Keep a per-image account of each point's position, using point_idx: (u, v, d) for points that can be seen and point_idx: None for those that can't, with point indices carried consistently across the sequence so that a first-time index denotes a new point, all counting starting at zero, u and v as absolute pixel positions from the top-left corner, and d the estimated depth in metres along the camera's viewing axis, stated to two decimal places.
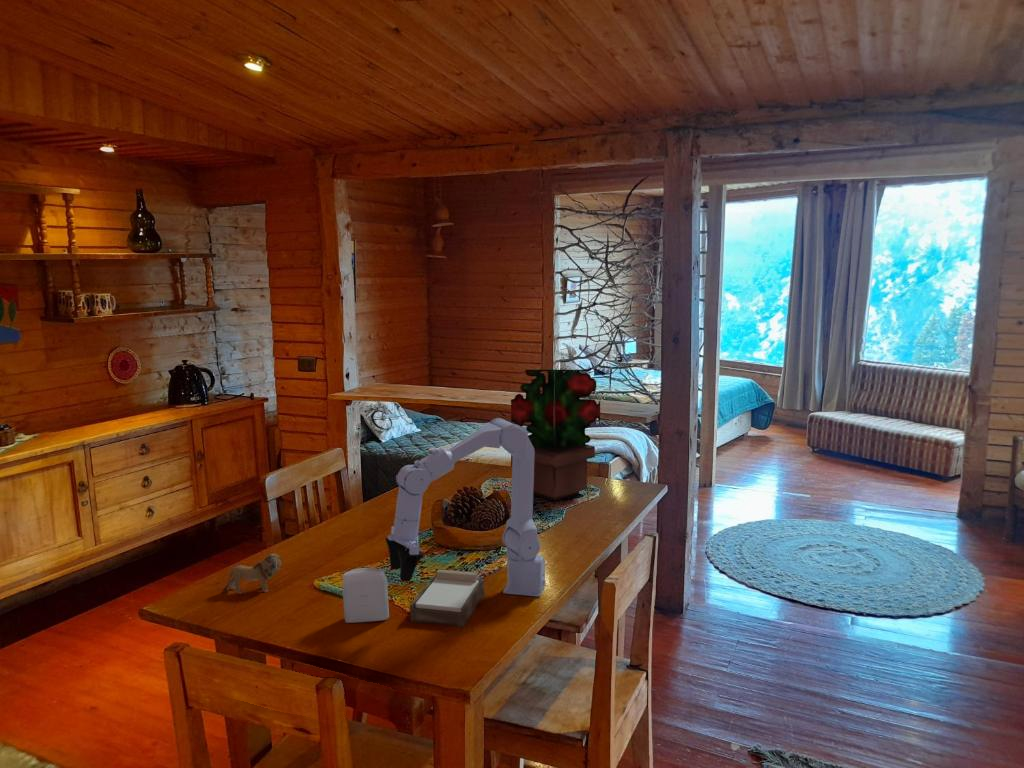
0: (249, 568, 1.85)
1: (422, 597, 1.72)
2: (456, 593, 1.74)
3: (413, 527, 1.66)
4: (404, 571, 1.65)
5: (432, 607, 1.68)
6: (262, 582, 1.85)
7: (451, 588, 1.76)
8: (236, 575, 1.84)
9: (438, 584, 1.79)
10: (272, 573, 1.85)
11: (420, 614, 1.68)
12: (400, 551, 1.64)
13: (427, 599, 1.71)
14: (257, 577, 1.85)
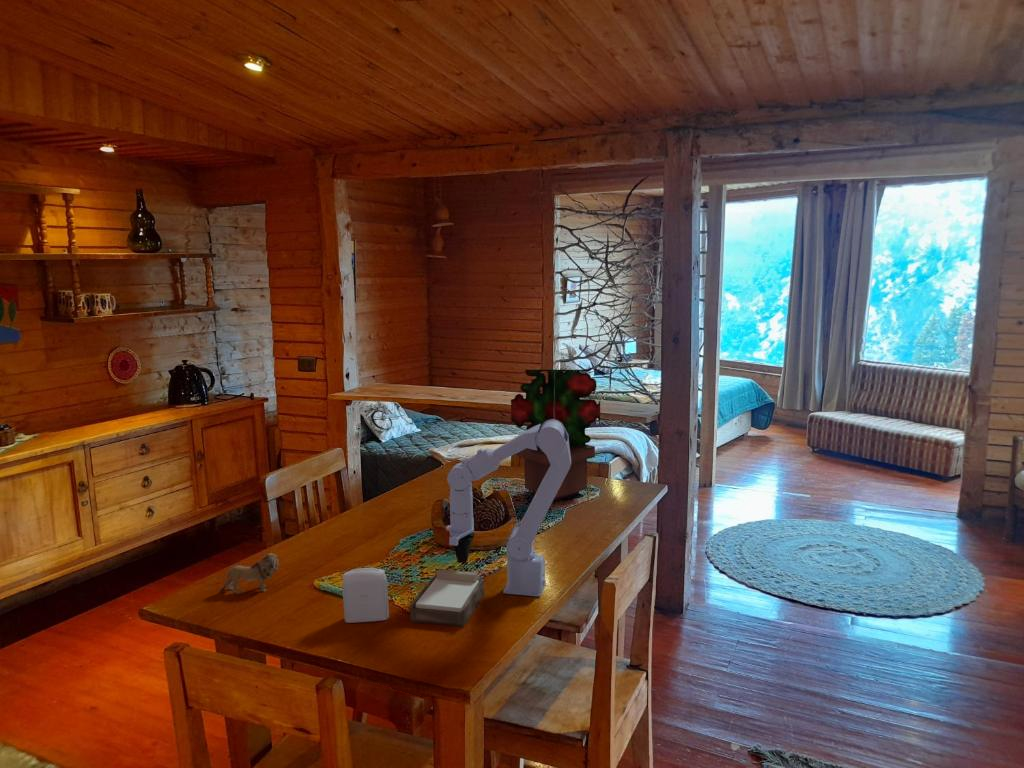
0: (247, 568, 1.85)
1: (422, 597, 1.72)
2: (456, 593, 1.74)
3: (460, 520, 1.81)
4: (458, 554, 1.85)
5: (432, 607, 1.68)
6: (260, 582, 1.85)
7: (451, 588, 1.76)
8: (234, 575, 1.84)
9: (438, 584, 1.79)
10: (270, 573, 1.85)
11: (420, 614, 1.68)
12: None
13: (427, 599, 1.71)
14: (255, 577, 1.85)
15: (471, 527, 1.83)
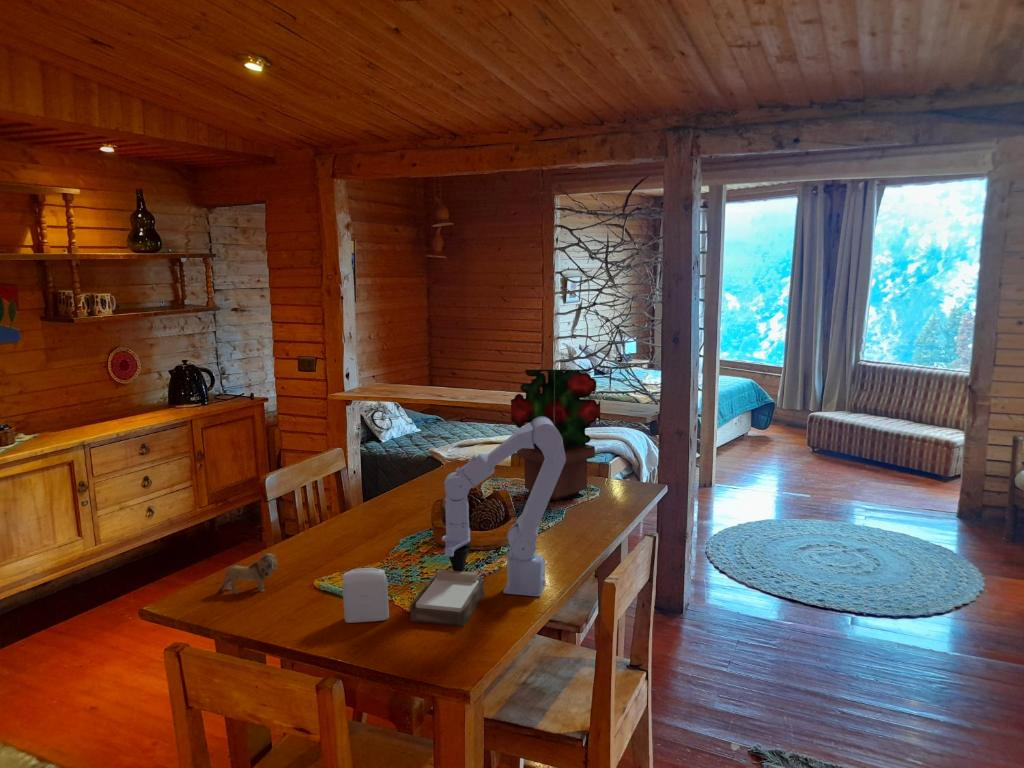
0: (245, 568, 1.85)
1: (422, 597, 1.72)
2: (456, 593, 1.74)
3: (456, 530, 1.78)
4: (454, 564, 1.82)
5: (432, 607, 1.68)
6: (258, 582, 1.85)
7: (451, 588, 1.76)
8: (232, 575, 1.84)
9: (438, 584, 1.79)
10: (268, 573, 1.85)
11: (420, 614, 1.68)
12: None
13: (427, 599, 1.71)
14: (253, 577, 1.85)
15: (467, 537, 1.80)
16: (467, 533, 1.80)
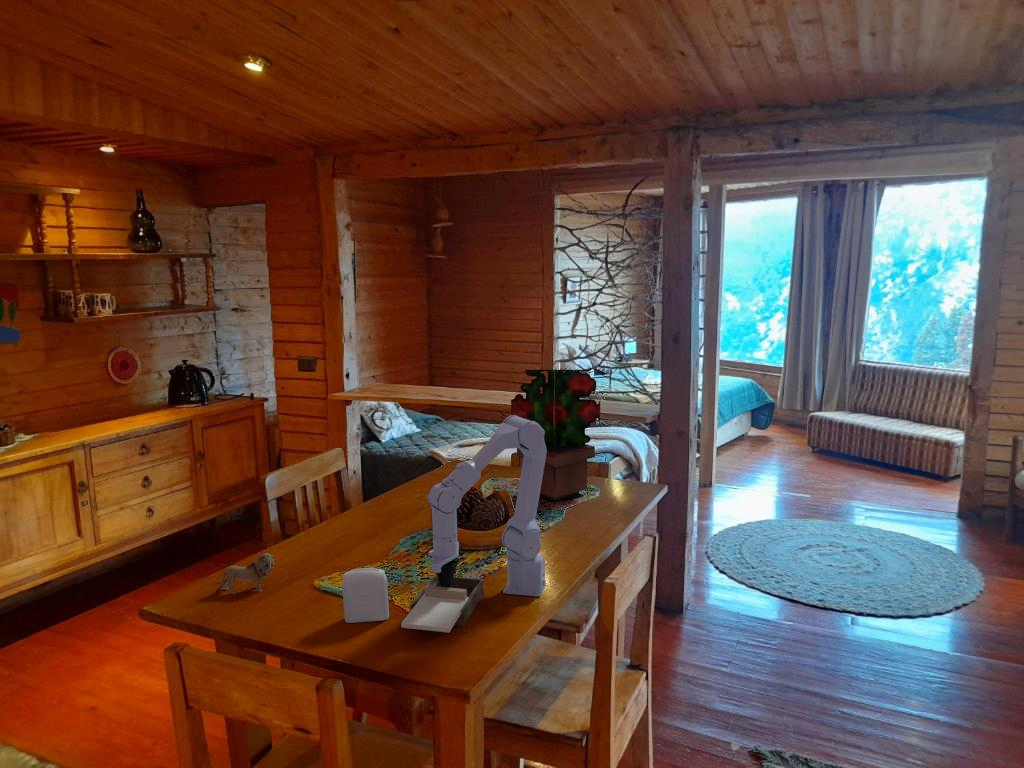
0: (243, 568, 1.85)
1: (408, 616, 1.63)
2: (444, 611, 1.65)
3: (444, 544, 1.69)
4: (442, 580, 1.73)
5: (418, 627, 1.59)
6: (256, 582, 1.85)
7: (439, 606, 1.67)
8: (230, 575, 1.84)
9: (426, 601, 1.70)
10: (266, 573, 1.85)
11: None
12: None
13: (413, 618, 1.62)
14: (251, 577, 1.85)
15: (455, 552, 1.71)
16: (455, 547, 1.70)
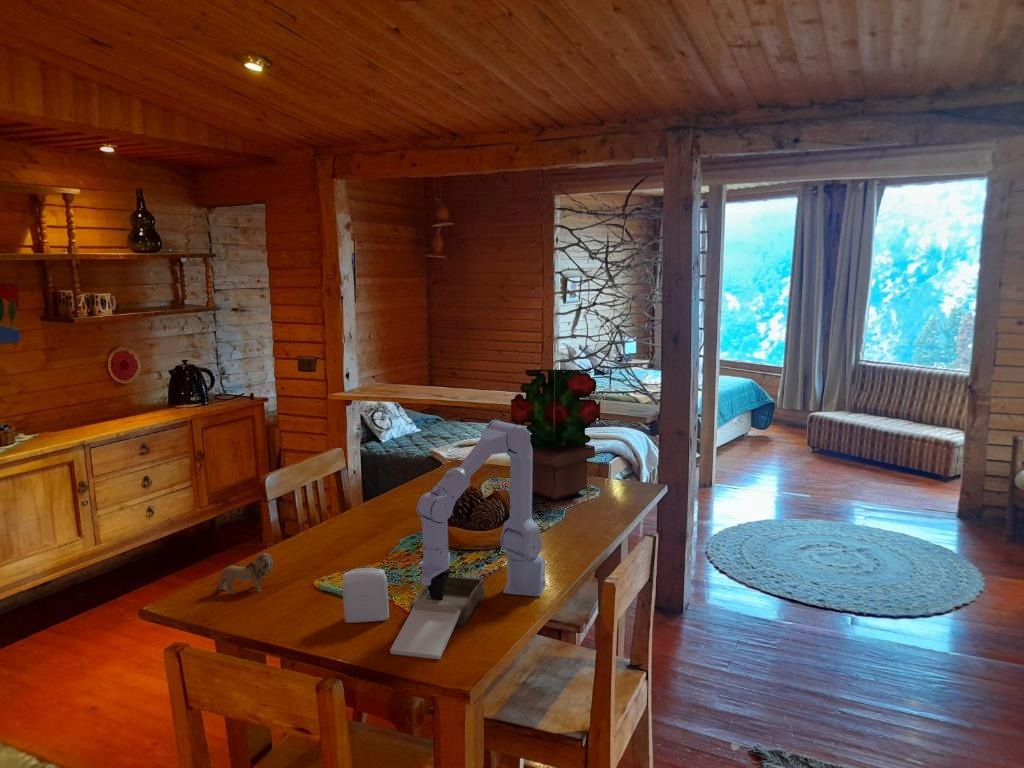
0: (241, 568, 1.85)
1: (398, 639, 1.57)
2: (435, 631, 1.59)
3: (434, 556, 1.62)
4: (432, 593, 1.66)
5: (408, 654, 1.54)
6: (255, 582, 1.85)
7: (429, 623, 1.61)
8: (228, 575, 1.84)
9: (415, 617, 1.64)
10: (265, 572, 1.85)
11: None
12: None
13: (403, 642, 1.56)
14: (250, 577, 1.85)
15: (446, 564, 1.64)
16: (446, 559, 1.64)
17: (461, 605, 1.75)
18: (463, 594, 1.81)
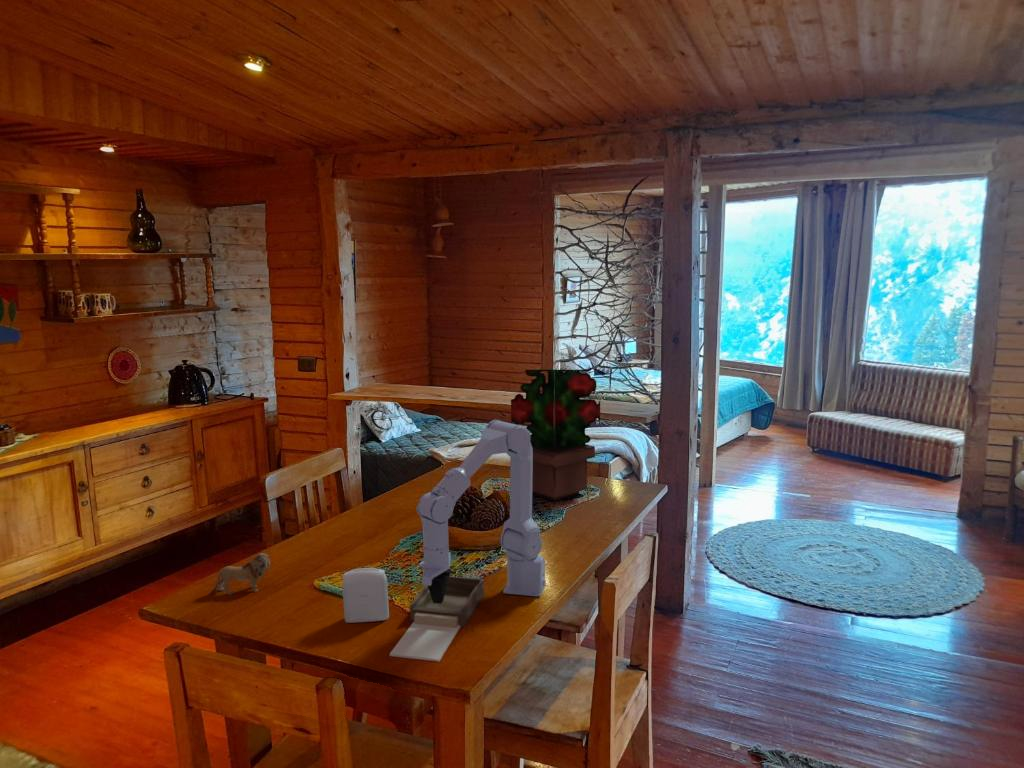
0: (238, 568, 1.85)
1: (397, 646, 1.57)
2: (435, 640, 1.59)
3: (435, 556, 1.62)
4: (433, 593, 1.66)
5: None
6: (252, 582, 1.85)
7: (429, 634, 1.61)
8: (225, 576, 1.84)
9: (415, 629, 1.64)
10: (262, 572, 1.85)
11: None
12: None
13: (402, 648, 1.56)
14: (247, 577, 1.85)
15: (447, 564, 1.64)
16: (447, 559, 1.64)
17: (461, 605, 1.75)
18: (463, 594, 1.81)
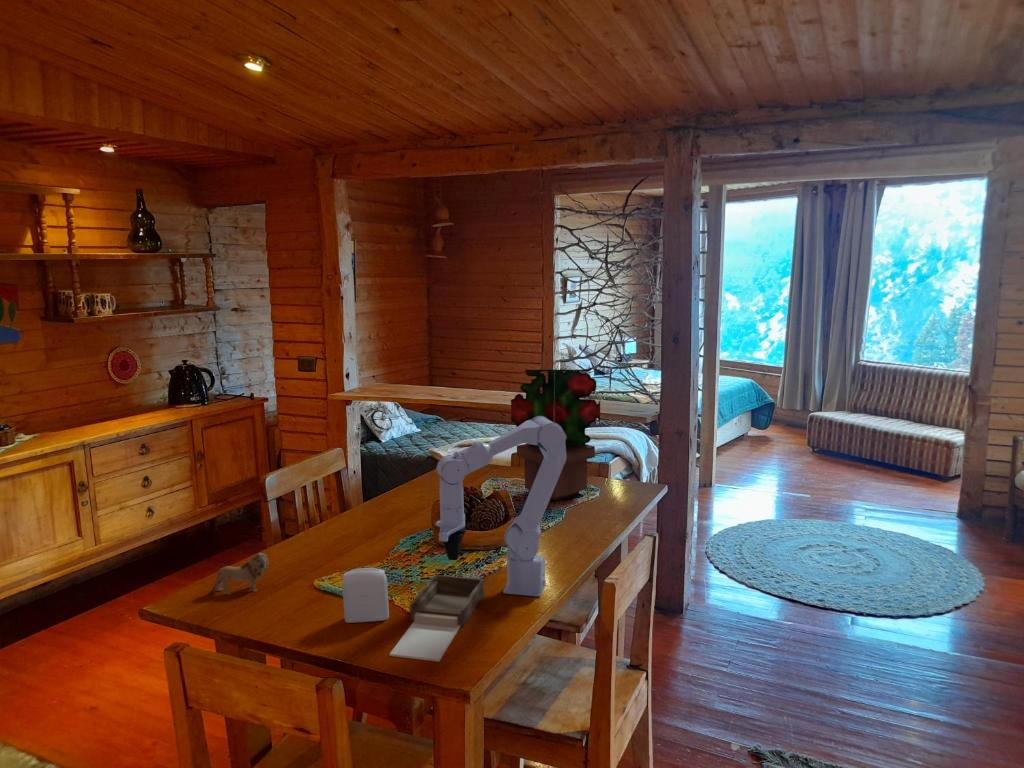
0: (237, 568, 1.85)
1: (397, 646, 1.57)
2: (435, 640, 1.59)
3: (451, 515, 1.73)
4: (449, 550, 1.77)
5: None
6: (251, 582, 1.85)
7: (429, 634, 1.61)
8: (224, 576, 1.83)
9: (415, 629, 1.64)
10: (261, 572, 1.86)
11: None
12: None
13: (402, 648, 1.56)
14: (246, 577, 1.85)
15: (462, 522, 1.75)
16: (462, 518, 1.75)
17: (461, 605, 1.75)
18: (463, 594, 1.81)
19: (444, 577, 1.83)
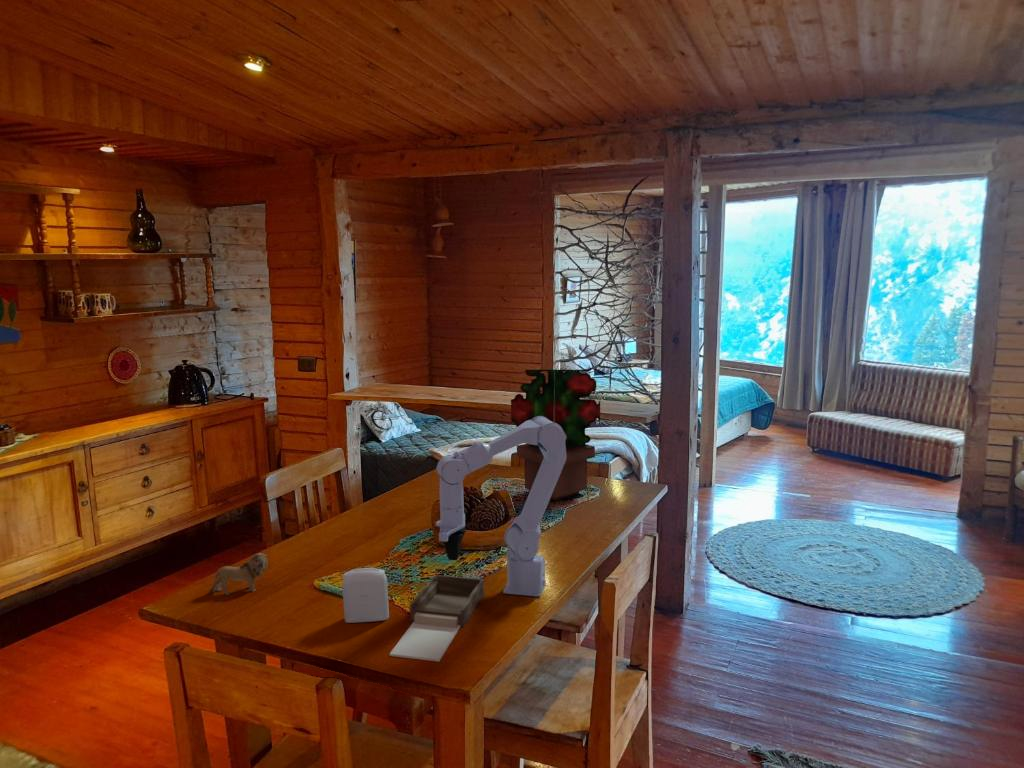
0: (236, 568, 1.85)
1: (397, 645, 1.57)
2: (435, 640, 1.59)
3: (451, 515, 1.73)
4: (449, 550, 1.77)
5: None
6: (250, 582, 1.85)
7: (429, 634, 1.61)
8: (223, 576, 1.83)
9: (415, 629, 1.64)
10: (260, 572, 1.86)
11: None
12: None
13: (402, 648, 1.56)
14: (245, 577, 1.85)
15: (462, 522, 1.75)
16: (462, 518, 1.75)
17: (461, 605, 1.75)
18: (463, 594, 1.81)
19: (444, 577, 1.83)
